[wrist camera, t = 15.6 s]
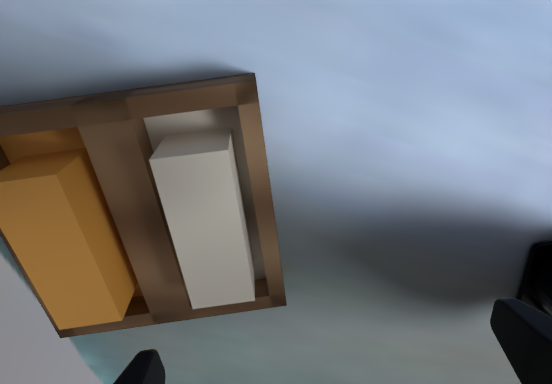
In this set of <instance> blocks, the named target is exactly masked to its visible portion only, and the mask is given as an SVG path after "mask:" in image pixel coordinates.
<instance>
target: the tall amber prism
mask: <svg viewBox="0 0 552 384" xmlns="http://www.w3.org/2000/svg"><path fill="white" fill-rule="evenodd" d="M0 228H1V230H2V232H3V233H4V235H5V237H6V239H7V240H8V242H9V244H10V246H11V247H12V249H13V251H14V252H15V254H16V256H17V258H18V259H19V261H20V263H21V265H22V266H23V268H24V270H25V271H26V273H27V275H28V277H29V278H30V280H31V282H32V283H33V285H34V287H35V289H36V290H37V292H38V294H39V296H40V297H41V299H42V301H43V302H44V304H45V306H46V308H47V309H48V311H49V313H50V315H51V316H52V318H53V320H54V321H55V323H56V325H57V327H58V328H59V330H62V329H69V328H75V327H82V326H89V325H96V324H103V323H109V322H116V321H122V320H123V317H124V315H125V312H126V310H127V308H128V305H129V303H130V300H131V298H132V295H133V293H134V290H135V288H136V286H137V283H138V280H137V278H136V275H135V273H134V270H133V268H132V265H131V263H130V260H129V257H128V255H127V252H126V250H125V247H124V245H123V242H122V239H121V237H120V234H119V232H118V229H117V227H116V224H115V221H114V219H113V216H112V214H111V211H110V209H109V206H108V203H107V201H106V198H105V196H104V193H103V191H102V188H101V185H100V183H99V180H98V178H97V175H96V173H95V170H94V167H93V165H92V162H91V160H90V157H89V155H88V152H87V150H86V148H83V149H76V150H69V151H61V152H54V153H47V154H40V155H33V156H25V157H21V158H20V159H18V160H16V161H15V162H13V163H12V164H10V165H8V166H7V167H5V168H4V169H2V170H0Z"/></svg>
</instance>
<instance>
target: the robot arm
mask: <svg viewBox="0 0 552 384" xmlns="http://www.w3.org/2000/svg"><path fill="white" fill-rule="evenodd" d="M490 324H491V328H492V330H493V332H494V334H495V336H496V338H497V340H498V341H499V343H500V345H501V347H502V349H503V351H504V353H505V354H506V356H507V358H508V360H509V362H510V364H511V365H512V367H513V369H514V371H515V373H516V375H517V377H518V378H519V380H520V382H521V383H522V384H552V241H546V242H539V243H536V244H534V245H533V246H532V248H531V250H530V253H529V257H528V261H527V264H526V268H525V271H524V275H523V279H522V282H521V286H520V289H519V293H518V297H517V299H516V298H513V297H506V298H499V299H497V300H496V301H495V302H494V306H493V310H492V315H491V319H490ZM113 384H165V369H164V366H163V364H162V361H161V359H160V356H159V354H158V352H157V350H155V349H150V350H144V351H140V352H139V353H138V354H137V355H136V356H135V357H134V359H133V360H132V361H131V362H130V363H129V365H128V366H127V367H126V368H125V370H124V371H123V372H122V373H121V375H120V376H119V377H118V378H117V380H116V381H115V382H114V383H113Z"/></svg>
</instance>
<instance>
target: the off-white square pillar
mask: <svg viewBox="0 0 552 384" xmlns="http://www.w3.org/2000/svg"><path fill="white" fill-rule="evenodd" d="M149 162H150V165H151V169H152V172H153V175H154V179H155V182H156V186H157V189H158V192H159V196H160V199H161V203H162V206H163V209H164V213H165V216H166V220H167V223H168V227H169V230H170V233H171V237H172V240H173V244H174V247H175V250H176V254H177V257H178V261H179V264H180V267H181V271H182V274H183V278H184V281H185V284H186V288H187V291H188V295H189V298H190V301H191V305H192V308H193V309H198V308H205V307H212V306H220V305H227V304H234V303H242V302H249V301H255V286H254V260H253V254H252V248H251V242H250V236H249V231H248V225H247V219H246V213H245V207H244V201H243V195H242V189H241V183H240V177H239V171H238V165H237V159H236V153H235V147H234V141H233V135H232V129H231V128H223V129H215V130H207V131H199V132H191V133H183V134H175V135H166V136H165V137H164V139H163V140H162V141H161V143H160V144H159V146H158V147H157V149H156V150H155V152H154V153H153V155H152V156H151V158H150V159H149Z"/></svg>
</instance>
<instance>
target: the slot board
mask: <svg viewBox="0 0 552 384" xmlns="http://www.w3.org/2000/svg"><path fill="white" fill-rule="evenodd" d="M223 128H231V129H232V135H233V141H234V147H235V153H236V159H237V165H238V171H239V177H240V183H241V189H242V195H243V201H244V207H245V213H246V219H247V225H248V231H249V236H250V242H251V248H252V254H253V260H254V286H255V301H249V302H242V303H234V304H227V305H220V306H212V307H205V308H198V309H193V308H192V305H191V301H190V298H189V295H188V291H187V288H186V284H185V281H184V278H183V274H182V271H181V267H180V264H179V261H178V257H177V254H176V250H175V247H174V244H173V240H172V237H171V233H170V230H169V227H168V223H167V220H166V216H165V213H164V209H163V206H162V203H161V199H160V196H159V192H158V189H157V186H156V182H155V179H154V175H153V172H152V169H151V165H150V162H149V159H150V158H151V156H152V155H153V153H154V152H155V150H156V149H157V147H158V146H159V144H160V143H161V141H162V140H163V139H164V137H165V136H166V135H175V134H183V133H191V132H199V131H207V130H215V129H223ZM83 148H86V150H87V152H88V155H89V157H90V160H91V162H92V165H93V167H94V170H95V173H96V175H97V178H98V180H99V183H100V185H101V188H102V191H103V193H104V196H105V198H106V201H107V203H108V206H109V209H110V211H111V214H112V216H113V219H114V221H115V224H116V227H117V229H118V232H119V234H120V237H121V239H122V242H123V245H124V247H125V250H126V252H127V255H128V257H129V260H130V263H131V265H132V268H133V270H134V273H135V275H136V278H137V280H138V283H137V286H136V288H135V290H134V293H133V295H132V298H131V300H130V303H129V305H128V308H127V310H126V312H125V315H124V317H123V320H122V321H116V322H109V323H103V324H96V325H89V326H82V327H75V328H69V329H62V330H59V328H58V327H57V325H56V323H55V321H54V320H53V318H52V316H51V315H50V313H49V311H48V309H47V308H46V306H45V304H44V302H43V301H42V299H41V297H40V296H39V294H38V292H37V290H36V289H35V287H34V285H33V283H32V282H31V280H30V278H29V277H28V275H27V273H26V271H25V270H24V268H23V266H22V265H21V263H20V261H19V259H18V258H17V256H16V254H15V252H14V251H13V249H12V247H11V246H10V244H9V242H8V240H7V239H6V237H5V235H4V233H3V232H2V230H1V228H0V235H1V237H2V239H3V240H4V242H5V244H6V246H7V247H8V249H9V251H10V252H11V254H12V256H13V258H14V259H15V261H16V263H17V264H18V266H19V268H20V270H21V271H22V273H23V275H24V277H25V278H26V280H27V282H28V283H29V285H30V287H31V289H32V290H33V292H34V294H35V295H36V297H37V299H38V301H39V302H40V304H41V306H42V307H43V309H44V311H45V312H46V314H47V316H48V318H49V319H50V321H51V323H52V325H53V326H54V328H55V330H56V331H57V333H58V335H59V337H60V338H65V337H71V336H78V335H85V334H92V333H99V332H106V331H113V330H120V329H127V328H134V327H141V326H147V325H154V324H161V323H168V322H175V321H182V320H189V319H196V318H203V317H210V316H217V315H223V314H230V313H237V312H244V311H251V310H258V309H265V308H272V307H279V306H286V305H287V304H286V297H285V290H284V282H283V275H282V268H281V260H280V253H279V246H278V238H277V231H276V224H275V216H274V209H273V202H272V195H271V187H270V180H269V173H268V165H267V158H266V151H265V143H264V136H263V129H262V121H261V114H260V107H259V99H258V92H257V85H256V78H255V73H252V74H244V75H236V76H229V77H221V78H214V79H206V80H199V81H191V82H184V83H176V84H168V85H161V86H153V87H146V88H138V89H131V90H123V91H115V92H108V93H100V94H93V95H85V96H78V97H70V98H63V99H55V100H47V101H40V102H32V103H25V104H17V105H10V106H2V107H0V170H2V169H4V168H5V167H7V166H8V165H10V164H12V163H13V162H15V161H16V160H18V159H20V158H21V157H25V156H33V155H40V154H47V153H54V152H61V151H69V150H76V149H83Z"/></svg>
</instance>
